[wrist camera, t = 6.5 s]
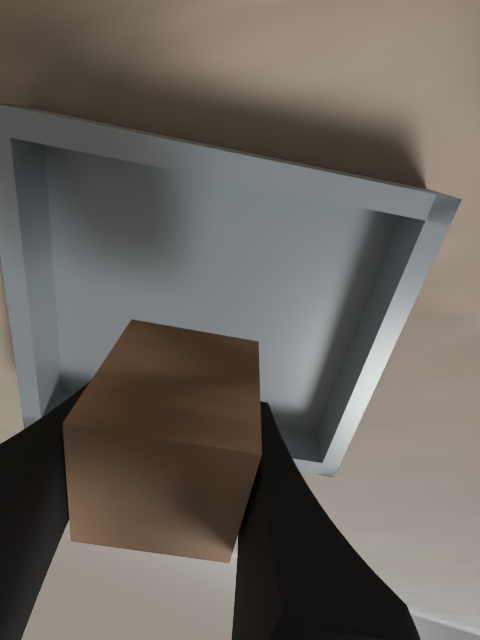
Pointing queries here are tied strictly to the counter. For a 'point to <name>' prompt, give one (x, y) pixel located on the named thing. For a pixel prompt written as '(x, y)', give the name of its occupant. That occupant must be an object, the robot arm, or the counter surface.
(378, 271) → the bin
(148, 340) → the block
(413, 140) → the counter surface
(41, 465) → the robot arm
